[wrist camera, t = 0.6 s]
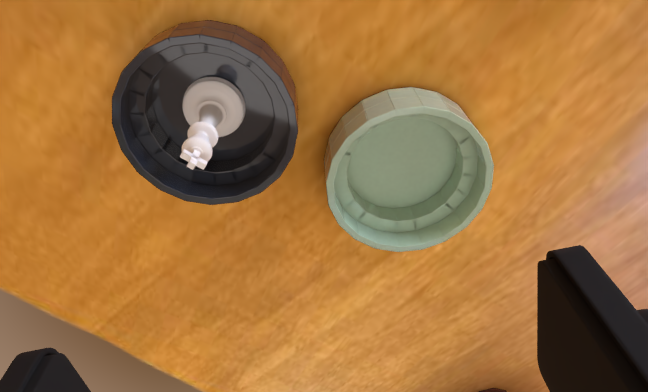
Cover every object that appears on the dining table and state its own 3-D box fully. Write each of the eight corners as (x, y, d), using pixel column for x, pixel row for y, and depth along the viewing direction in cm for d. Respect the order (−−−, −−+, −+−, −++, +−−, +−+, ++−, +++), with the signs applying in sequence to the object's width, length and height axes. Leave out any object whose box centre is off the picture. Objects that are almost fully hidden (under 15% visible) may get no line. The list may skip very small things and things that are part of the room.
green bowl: (299, 125, 41) (299, 149, 37) (452, 59, 39) (469, 78, 35) (357, 240, 48) (362, 271, 44) (491, 190, 45) (509, 218, 41)
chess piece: (226, 145, 41) (207, 211, 33) (172, 114, 40) (137, 175, 31) (257, 98, 39) (245, 155, 31) (201, 64, 38) (172, 114, 29)
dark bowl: (95, 64, 38) (72, 84, 34) (248, -11, 35) (242, 1, 32) (187, 197, 44) (177, 226, 40) (323, 141, 42) (325, 166, 38)
